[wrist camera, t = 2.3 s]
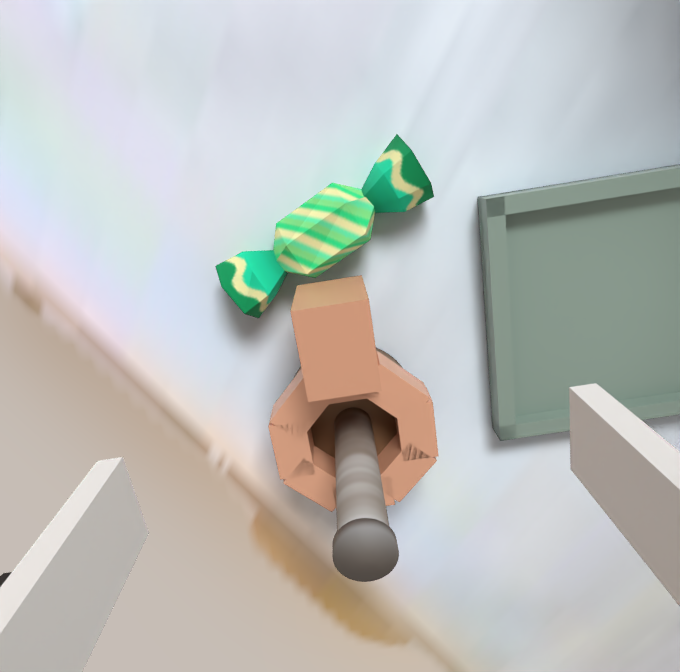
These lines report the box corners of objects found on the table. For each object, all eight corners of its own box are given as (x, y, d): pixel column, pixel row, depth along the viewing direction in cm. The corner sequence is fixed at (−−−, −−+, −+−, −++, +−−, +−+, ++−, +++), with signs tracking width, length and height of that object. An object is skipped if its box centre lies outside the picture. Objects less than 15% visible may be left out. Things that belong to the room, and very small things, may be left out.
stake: (277, 353, 32) (244, 484, 19) (405, 334, 31) (459, 453, 19) (300, 463, 34) (284, 644, 21) (418, 445, 34) (474, 618, 21)
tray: (492, 428, 34) (500, 440, 32) (477, 197, 29) (485, 198, 27) (798, 382, 33) (821, 393, 32) (835, 139, 28) (864, 138, 27)
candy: (388, 124, 27) (422, 161, 24) (411, 170, 30) (444, 208, 27) (211, 253, 29) (225, 300, 26) (247, 285, 32) (263, 331, 29)
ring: (292, 498, 32) (285, 557, 27) (246, 293, 27) (229, 320, 23) (435, 477, 31) (455, 533, 27) (412, 267, 27) (430, 289, 22)
